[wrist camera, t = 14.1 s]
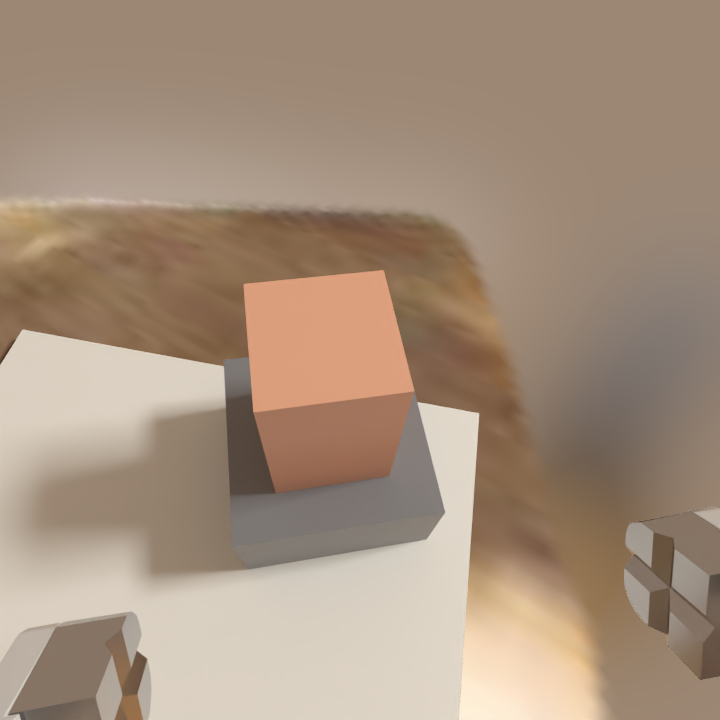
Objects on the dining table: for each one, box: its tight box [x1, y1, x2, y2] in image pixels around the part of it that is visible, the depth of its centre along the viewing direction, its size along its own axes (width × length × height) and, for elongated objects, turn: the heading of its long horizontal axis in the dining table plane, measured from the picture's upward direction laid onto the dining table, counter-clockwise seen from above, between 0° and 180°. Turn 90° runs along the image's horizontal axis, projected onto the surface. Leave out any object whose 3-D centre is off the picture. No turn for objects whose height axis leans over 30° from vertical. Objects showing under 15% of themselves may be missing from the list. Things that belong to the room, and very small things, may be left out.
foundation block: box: [224, 357, 445, 570], centre depth 26 cm, size 9×9×5 cm
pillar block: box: [244, 270, 414, 493], centre depth 21 cm, size 5×5×8 cm
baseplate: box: [0, 330, 479, 720], centre depth 27 cm, size 28×18×1 cm, turn 80°
